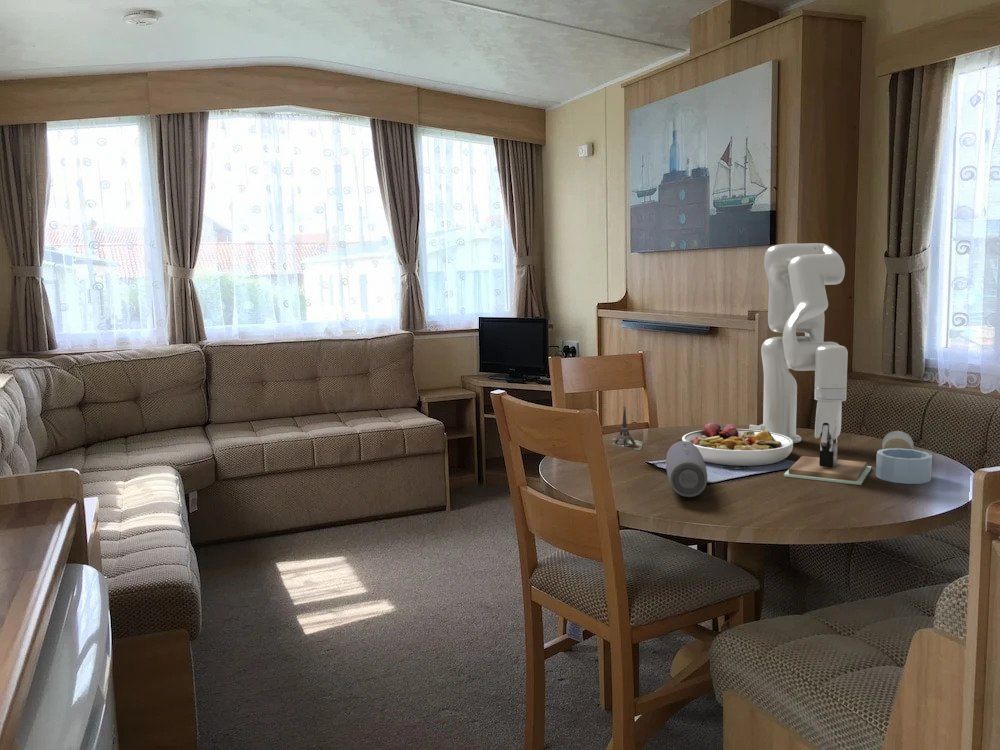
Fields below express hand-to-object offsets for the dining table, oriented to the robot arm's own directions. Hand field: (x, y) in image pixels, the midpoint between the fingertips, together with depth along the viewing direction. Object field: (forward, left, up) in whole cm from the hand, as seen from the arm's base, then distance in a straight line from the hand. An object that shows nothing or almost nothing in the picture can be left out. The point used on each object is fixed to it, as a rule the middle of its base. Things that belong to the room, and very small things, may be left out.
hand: (828, 463), depth 205 cm
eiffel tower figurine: (-60, +9, -3) cm, 60 cm away
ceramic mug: (+15, +21, -3) cm, 26 cm away
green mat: (0, 0, -2) cm, 2 cm away
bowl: (-26, +9, -3) cm, 28 cm away
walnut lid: (0, 0, -2) cm, 2 cm away
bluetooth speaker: (-27, -31, -3) cm, 41 cm away
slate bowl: (+17, +3, -2) cm, 17 cm away
